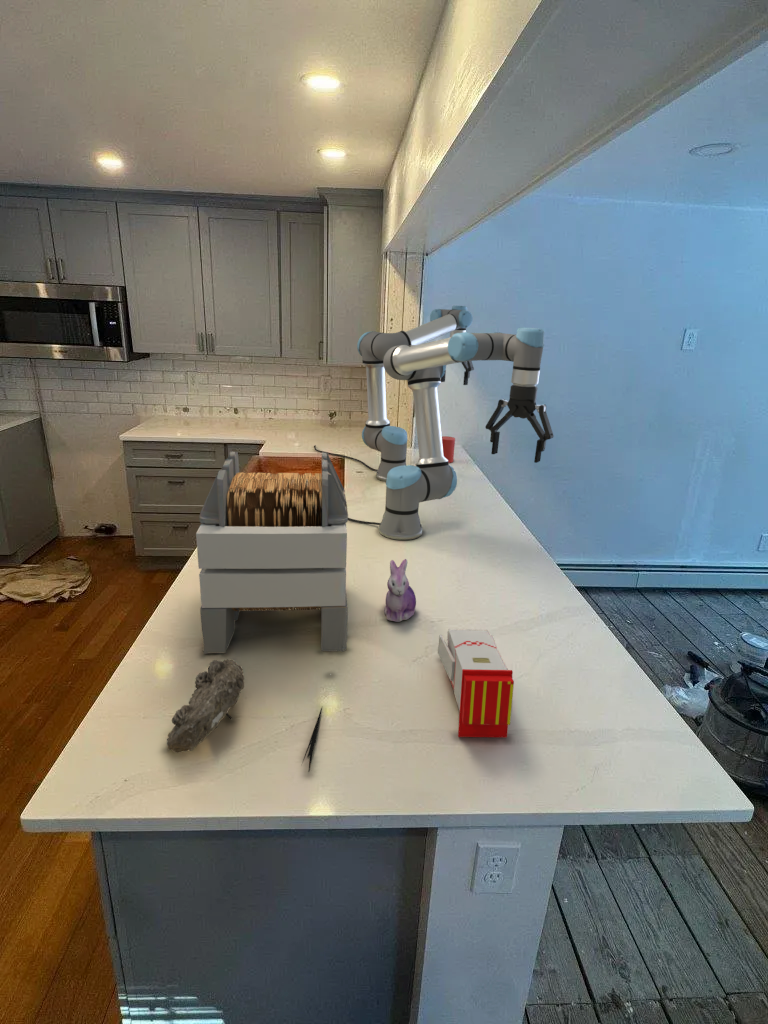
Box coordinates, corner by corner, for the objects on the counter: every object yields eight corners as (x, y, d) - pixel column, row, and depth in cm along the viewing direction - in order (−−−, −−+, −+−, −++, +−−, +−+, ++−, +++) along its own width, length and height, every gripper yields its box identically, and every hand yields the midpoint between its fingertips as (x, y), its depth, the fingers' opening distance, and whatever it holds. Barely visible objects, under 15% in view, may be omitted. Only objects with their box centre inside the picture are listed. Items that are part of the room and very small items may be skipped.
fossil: (192, 660, 117) (244, 628, 112) (224, 691, 120) (276, 661, 115) (142, 746, 98) (202, 712, 93) (182, 779, 101) (242, 748, 96)
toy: (488, 613, 130) (523, 677, 101) (484, 667, 133) (517, 744, 104) (435, 612, 130) (455, 676, 101) (432, 666, 133) (451, 743, 103)
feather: (331, 679, 122) (336, 673, 122) (307, 777, 96) (313, 769, 95) (324, 675, 122) (329, 669, 121) (298, 772, 95) (304, 764, 95)
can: (440, 463, 295) (442, 439, 291) (435, 459, 303) (437, 436, 298) (455, 462, 297) (457, 439, 293) (450, 458, 304) (452, 436, 300)
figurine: (392, 627, 141) (395, 572, 136) (374, 608, 149) (376, 556, 144) (425, 619, 145) (429, 566, 140) (405, 601, 154) (408, 550, 149)
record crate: (224, 585, 158) (215, 442, 144) (341, 584, 162) (344, 444, 148) (200, 656, 126) (187, 481, 112) (347, 652, 130) (351, 482, 116)
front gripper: (572, 388, 157) (560, 462, 164) (490, 379, 171) (483, 448, 178) (562, 391, 151) (551, 467, 159) (478, 381, 165) (471, 452, 172)
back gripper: (483, 340, 272) (479, 385, 279) (440, 337, 287) (438, 380, 294) (475, 341, 266) (471, 386, 274) (432, 337, 281) (429, 381, 289)
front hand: (515, 457), depth 168 cm, fingers open, 13 cm apart
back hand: (453, 383), depth 284 cm, fingers open, 13 cm apart
